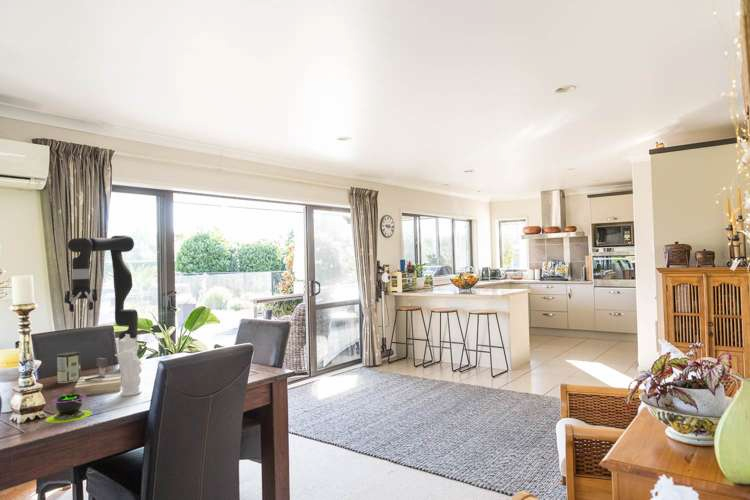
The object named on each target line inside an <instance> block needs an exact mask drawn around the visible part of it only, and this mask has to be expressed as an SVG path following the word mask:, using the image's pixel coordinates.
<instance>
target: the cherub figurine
mask: <svg viewBox="0 0 750 500" xmlns="http://www.w3.org/2000/svg"><path fill="white" fill-rule="evenodd" d="M139 349H140V344H139V343H138V342H137V345H136V346H134V347H132V348H131V349H130V350H124V351H123V352H121V353H119V352H118V353H116V354H114V356H115V357H117V358H118V359H119V358H121V361H122V363H123V368H122V375H123V377H121V391H120V393H119V394H120V396H121V397H133V396H137V395H140V394H142V390H141V389H140V384H141V376H140V374H141V373H142V367H141V365H142V360H140V358H139V357H138V355H137V356H136V355H135V354H136V353H137V354H138V350H139Z"/></svg>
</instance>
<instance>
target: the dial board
mask: <svg viewBox="0 0 750 500" xmlns="http://www.w3.org/2000/svg"><path fill="white" fill-rule="evenodd" d="M97 376H99V374H94V375H84V376H81V377H80V378H79V380H78V381H76V382H77V383H76V384H75V385H74V393H75V394H81V395H83V396H82V397H84V396H91V395H96V394H97V395H98V394H104V393H113V392H119V391H120V392H122V385H121V380H122V377H121V372H120V371H119V372H113V373H105V377H104V378H95V379H91V380H86V381H85V379H88V378H92V377H97ZM79 391H80V392H79Z"/></svg>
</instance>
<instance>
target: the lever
mask: <svg viewBox="0 0 750 500" xmlns="http://www.w3.org/2000/svg"><path fill="white" fill-rule="evenodd" d="M96 367H97V368H98V371H99V372H98V373H99V374H98V375H99V376H97V377H92V378H88V379H85V381H86V380H91V379H95V378H104V377H105V374H106V368H108V358H107V357H106V358H104V357H97V358H96Z"/></svg>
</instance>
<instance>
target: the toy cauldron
mask: <svg viewBox="0 0 750 500" xmlns="http://www.w3.org/2000/svg"><path fill="white" fill-rule="evenodd" d="M67 391H69V390H68V389H66V392H67ZM79 392H80V391H79ZM56 395H57V396H59V393H56ZM86 397H87V395H84V396H83V395H81V394H75V392H73V394H72V393H70V394H63V395H60V396H59V397H57V398H54V399H52V400H51V402H52V403H55V409H56V412H57V413H56V414H54V415H51V416H49V417H47V418H45V422H46V423H49V424H63V423H70V422H75V421H78V420H82V419H85V418H87V417H89V416H91V415H92V411H91V410H87V409H85V410H84V409H81V408H82V405H83V399H85V398H86Z"/></svg>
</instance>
